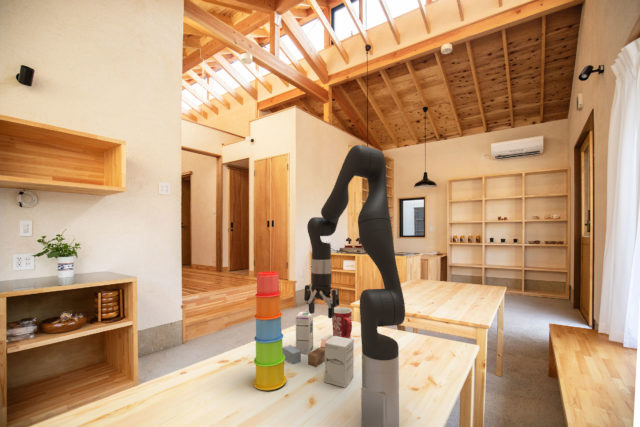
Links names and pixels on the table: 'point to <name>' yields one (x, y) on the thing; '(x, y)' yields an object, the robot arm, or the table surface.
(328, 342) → the supplement box
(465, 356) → the table surface
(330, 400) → the table surface
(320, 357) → the walnut brick
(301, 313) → the syrup box
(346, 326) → the mug
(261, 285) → the stacking cups
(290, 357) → the slate-blue brick
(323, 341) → the terracotta brick
